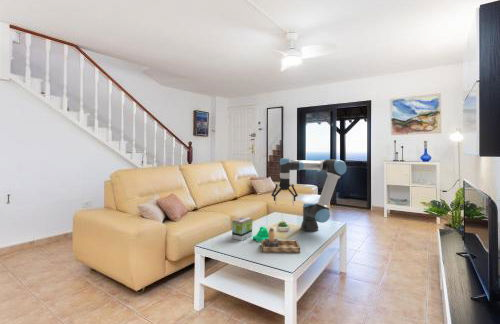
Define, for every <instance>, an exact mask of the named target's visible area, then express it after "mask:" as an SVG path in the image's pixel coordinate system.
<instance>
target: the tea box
mask: <svg viewBox="0 0 500 324" xmlns="http://www.w3.org/2000/svg"><path fill="white" fill-rule="evenodd" d="M231 227H232V228H231V238H232V239H234V240H237V241H241V242H242V241H244V240H246V239H248V238H250V237H253V218H252V217H247V216H240V217H238V218H235V219H233V220H232V224H231Z"/></svg>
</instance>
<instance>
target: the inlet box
mask: <svg viewBox="0 0 500 324" xmlns="http://www.w3.org/2000/svg"><path fill="white" fill-rule="evenodd" d="M260 243H261V253H280V254H281V253H285V254H293V253H295V254H300V253H301V246H300V244H299V242H298V240H296V239H295V240H294V239H293V240H290V239H288V240H286V239H285V240H283V239H281V240H280V239H278V238H274V242H269V239H265V240H261V242H260Z"/></svg>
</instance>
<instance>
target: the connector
mask: <svg viewBox="0 0 500 324" xmlns="http://www.w3.org/2000/svg"><path fill="white" fill-rule="evenodd" d="M268 232H269V242H274V239H275V233H276V232H275V229H274V228H273V227H271V228H269V230H268Z"/></svg>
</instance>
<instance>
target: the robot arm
mask: <svg viewBox="0 0 500 324" xmlns="http://www.w3.org/2000/svg"><path fill="white" fill-rule="evenodd" d="M301 170H302V171H303V170H314V171H316V170H317V171H318V172H323V173H324V172H325V173H326V176H327V177H326V179H325V182H324V184H323V188H322V190H321V194H320V196H319V199H318V201H317V202H306V203H303V205H302V222H301V225H300V229H301V231H304V232H309V233H312V232H313V233H314V232H318V231H319V226H318V225H319V224H318V223H322V224H324V223H327V222H328V220H329V219H330V216H331V212H330V207H329V205H330V202H331V199H332V197H333V194H334V191H335V187H336V185H337V183H338V180H339V179H340V178H341V177H342V175H344V174H345V173H346V172H347V164H346V162H345V161H343V160H341V159H318V160H302V159H300V160H299V159H298V160H297V159H290V158H288V157H286V158H285V157H283V158H280V159H279V184H277V183H275V187H274V189H273V191H272V193H271V197H273V202H274V205H275V206H277V196H278V194H279V193H280V192H281V191H289V192H290V194H291V196H292V201H291V202H292V207H293V206H295V201H296V197H298V195H299V194H298V193H297V190H296V189H295V186H294V184H293V183H292V184H290V180H291V179H290V177H291V176H290V175H291V174H290V173H291V172H290V171H301ZM290 187H291V188H292V190H293V191H292V190H291V189H290ZM278 188H279V189H278ZM277 189H278V190H277Z"/></svg>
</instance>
